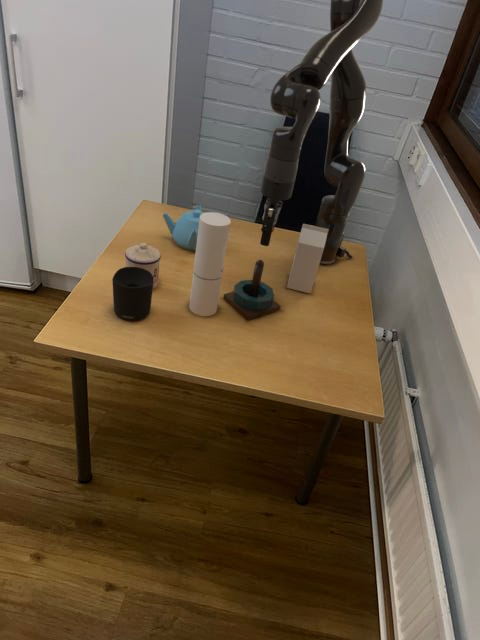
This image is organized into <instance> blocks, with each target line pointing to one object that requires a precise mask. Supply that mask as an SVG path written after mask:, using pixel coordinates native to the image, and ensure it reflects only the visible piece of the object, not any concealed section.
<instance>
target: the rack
mask: <svg viewBox="0 0 480 640" xmlns="http://www.w3.org/2000/svg"><path fill="white" fill-rule="evenodd" d="M264 266H265V262H264V260H262V259H257V260H256V261H255V265H254V270H253V273H252V279H251V280H252V283H251V288H250V292H247V293H245V294H247V295H248V296H252V297H256V298H257V297H262V296H261V295H259V294H258V291H259V286H260V282H262V278H263V277H262V276H263V272H264ZM233 292H234V290H233V291H230V292H226V293H224V294H223V300H224V301H225V302H226V303H227V304H228V305H230V306H231V307H232V308H233V309H234V310H235V311H236V312H237V313H238V314H240V316H242V317H243V319H245V320H246V321H248V322H249V321H252V320H255V319H258V318H261V317H264V316H267V315H270V314H273V313H275V312H279V311H280V310H281V305H280V304H279V303H278V302H276V301H275V300H274V299H273V303H272V305H271V306H270V307H269V308H268V309H265V310H258V311H256V310H255V311H254V310H250V309H246V308H243V307H241V306H240V305H239V304H237V303H236V302H235V301H234V296H233Z"/></svg>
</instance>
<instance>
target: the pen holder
mask: <svg viewBox="0 0 480 640" xmlns="http://www.w3.org/2000/svg"><path fill="white" fill-rule="evenodd" d="M111 279H112V281H111V282H112V298H113V299H112V300H113V301H112V302H113V312H114V314H115V315H116V317H118V319H121V320H123V321H127V322H139V321H142V320H145V319H146V318H147V317H149V315H150V313H151V307H152V299H153V291H154V289H153V276H152V274H151V273H150V272H149V271H148V270H146V269H143V268H139V267H126V266H124V267H121V268H119V269H117V271H116V272H115V273H114V274H113V276H112V278H111Z"/></svg>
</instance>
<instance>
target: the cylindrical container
mask: <svg viewBox="0 0 480 640" xmlns="http://www.w3.org/2000/svg"><path fill="white" fill-rule="evenodd" d="M231 221H232V219H231V218H230V217H228V216H227V215H226V214H223V213H220V212H213V211H209V212H208V211H207V212H203V214H201V215H200V219H199V228H198V236H197V245H196V251H195V253H194V254H195V255H194V263H193V270H192V280H191V288H190V298H189V310H190V312H191V313H193V314H194V315H195V316H200V317H211V316H213V315H216V313H217V310H218V306H219V305H218V304H219V299H220V298H219V297H220V292H221V286H222V281H223V280H222V279H223V272H224V266H225V261H226V260H225V259H226V255H227V247H228V241H229V234H230V228H231Z"/></svg>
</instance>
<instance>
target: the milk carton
mask: <svg viewBox="0 0 480 640" xmlns="http://www.w3.org/2000/svg"><path fill="white" fill-rule="evenodd" d="M327 233H328V229H325V228H320V227H316V226H315V225H311V224H306V223H302V226H301V229H300V233H299V237H298V242H297V245H296V249H295V253H294V257H293V261H292V265H291V269H290V272H289V276H288V280H287V285H286V288H287V289H291V290H294V291H298V292H303V293H306V294H311V293H312V291H313V287H314V284H315V281H316V277H317V273H318V269H319V267H320V264H319V263H320V260H321V257H322V253H323V250H324V246H325V242H326V238H327Z"/></svg>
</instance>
